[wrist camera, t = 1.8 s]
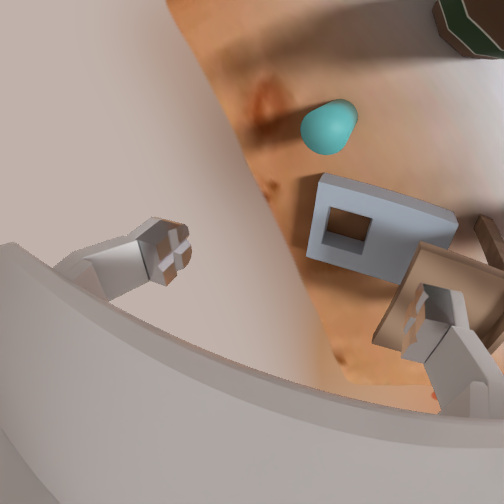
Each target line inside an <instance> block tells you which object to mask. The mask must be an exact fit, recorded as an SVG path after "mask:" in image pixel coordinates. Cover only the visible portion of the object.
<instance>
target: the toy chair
mask: <svg viewBox="0 0 504 504" xmlns="http://www.w3.org/2000/svg"><path fill="white" fill-rule="evenodd" d="M474 230H475V232H476V234H477V237H478V239H479V241H480V244H481V246H482V249H483V251H484V254H485V256H486V259H487V262H488V265H487V264H484V263H482V262H479V261H476V260H474V259H471V258H468V257H466V256H463V255H460V254H457V253H455V252H452V251H449V250H446V249H443V248H441V247H438V246H435V245H432V244H429V243H426V242H423V241H419V244H418V246H417V249H416V251H415V253H414V256H413V258H412V260H411V262H410V265H409V267H408V269H407V271H406V273H405V275H404V277H403V279H402V282H401V284H400V286H399V288H398V290H397V292H396V294H395V296H394V298H393V299H392V301H391V303H390V305H389V307H388V309H387V311H386V313H385V315H384V316H383V318H382V320H381V322H380V324H379V325H378V327H377V329H376V331H375V332H374V334H373V338H372V344H375V345H379V346H382V347H386V348H389V349H393V350H397V351H400V352H402V341H403V339H404V338H405V336H406V335H405V333H404V331H403V324H404V318H405V315H406V312H407V309H408V307H409V304H410V302H412V301H414V300H415V292H416V289H417V287H418V285H419V284H420V283H421V282H422V283H426V284H430V285H434V286H438V287H441V288H445V289H452V290H456V291H461V292H462V293H463V296H464V301H465V306H466V311H467V316H468V322H469V328H470V330H473V331H474V332H475V333H476V335H477V336H478V338H479V339H480V340H481V342H482V343H483V345H484V346H485V348H486V349H487V350H488V352H489V353H490V355H491V354H492V353H493V352H494V351H495V350H496V349H497V348H498V347H499V346H500V345H501V344H502V342H503V341H504V240H503V238H502V236H501V234H500V232H499V230H498V229H497V227H496V225H495V223H494V221H493V220H492V219H490V218H488V217H486V216H483V215H481V214H480V215H479V218H478V220H477V222H476V225H475V227H474Z"/></svg>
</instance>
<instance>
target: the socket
mask: <svg viewBox="0 0 504 504" xmlns="http://www.w3.org/2000/svg"><path fill="white" fill-rule="evenodd" d="M331 207H333V208H337V209H341V210H344V211H348V212H352V213H355V214H359V215H362V216H366V217H369V218H371V220H370V224H369V227H368V231H367V234H366V237H365V241H360V240H357V239H354V238H350V237H347V236H343V235H340V234H336V233H333V232H329V231H326V230H327V225H328V220H329V215H330V210H331ZM458 225H459V224H458V222H457V219H456V217H455V214H454V212H452V211H450V210H447V209H444V208H441V207H439V206H436V205H433V204H430V203H427V202H425V201H422V200H419V199H416V198H413V197H410V196H407V195H403V194H400V193H397V192H394V191H391V190H387V189H384V188H381V187H377V186H374V185H370V184H367V183H363V182H359V181H356V180H352V179H348V178H344V177H340V176H336V175H332V174H328V173H324V174H323V175H322V177H321V179H320V180H319V182H318V189H317V195H316V202H315V208H314V214H313V220H312V225H311V231H310V237H309V242H308V248H307V253H306V257H309V258H312V259H316V260H319V261H322V262H326V263H329V264H332V265H336V266H339V267H342V268H346V269H349V270H352V271H356V272H359V273H362V274H366V275H369V276H372V277H376V278H379V279H382V280H385V281H389V282H392V283H395V284H398V285H400V284H401V282H402V279H403V277H404V275H405V273H406V271H407V269H408V267H409V265H410V262H411V260H412V258H413V256H414V253H415V251H416V249H417V246H418V244H419V241H423V242H426V243H429V244H432V245H435V246H438V247H441V248H443V249H446V250H448V248H449V246H450V244H451V241H452V239H453V237H454V235H455V232H456V230H457V228H458Z"/></svg>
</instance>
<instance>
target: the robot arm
mask: <svg viewBox="0 0 504 504" xmlns="http://www.w3.org/2000/svg"><path fill="white" fill-rule="evenodd" d="M188 236H189V231H188V227H187V226H186V225H185V224H182V223H178V222H173V221H170V220H166V219H162V218H157V217H151V218H150V219H148V220H147V221H146V222H144V223H143V224H142V225H140V226H139V227H137V228H136V229H135V230H133V231H132V232H131V233H129V234H128V235H127V236H121V237H117V238H114V239H111V240H108V241H105V242H101V243H98V244H95V245H92V246H89V247H86V248H83V249H80V250H77V251H74V252H72V253H71V254H69V255H68V256H67V257H65V258H64V259H63V260H62V261H60V262H59V263H58V264H57V265H56V266H54V267H53V268H51V267H50V266H48V265H47V264H45V263H44V262H42V261H41V260H39V259H38V258H36V257H35V256H34V255H32V254H31V253H29V252H28V251H26V250H25V249H24V248H22V247H21V246H20V245H19V244H17V243H14V242H11V243H7V244H3V245H0V504H504V375H503V373H502V372H501V370H500V369H499V367H498V366H497V364H496V362H495V361H494V359H493V358H492V356H491V355H490V353H489V352H488V350H487V349H486V348H485V346H484V345H483V343H482V342H481V340H480V339H479V338H478V336H477V335H476V333H475V332H474V331H473V330H470V328H469V322H468V316H467V311H466V306H465V301H464V296H463V293H462V292H461V291H456V290H452V289H445V288H441V287H438V286H434V285H430V284H426V283H422V282H421V283H420V284H419V285H418V287H417V289H416V292H415V300H414V301H412V302H410V304H409V307H408V309H407V312H406V315H405V318H404V324H403V331H404V333H405V335H406V336H405V338H404V339H403V341H402V352H401V358H402V359H406V360H411V361H415V362H419V363H423V364H424V367H425V369H426V372H427V374H428V377H429V379H430V381H431V384H432V386H433V389H434V391H435V394H436V397H437V399H438V402H439V405H440V407H441V411H440V412H439V413H438V414H430V413H423V412H417V411H411V410H405V409H399V408H394V407H389V406H384V405H379V404H375V403H370V402H365V401H361V400H357V399H352V398H349V397H345V396H340V395H337V394H333V393H329V392H325V391H322V390H318V389H315V388H311V387H308V386H305V385H301V384H298V383H295V382H292V381H289V380H286V379H282V378H279V377H276V376H273V375H270V374H268V373H265V372H262V371H259V370H256V369H253V368H250V367H248V366H245V365H242V364H240V363H237V362H234V361H232V360H230V359H227V358H224V357H222V356H220V355H217V354H214V353H212V352H210V351H207V350H205V349H202V348H200V347H198V346H196V345H193V344H191V343H189V342H187V341H184V340H182V339H180V338H178V337H175V336H174V335H171V334H169V333H167V332H165V331H163V330H161V329H159V328H157V327H155V326H153V325H151V324H149V323H147V322H145V321H143V320H141V319H139V318H137V317H135V316H133V315H131V314H129V313H127V312H125V311H123V310H122V309H120V308H118V307H116V306H114V305H112V304H111V303H109V301H111V300H113V299H115V298H116V297H119V296H121V295H123V294H125V293H127V292H129V291H131V290H133V289H135V288H136V287H139V286H141V285H143V284H145V283H147V282H149V280H150V281H152V282H155V283H158V284H161V285H164V286H167V285H168V284H169V283H170V282H171V281H172V280H173V279H174V278H175V277H176V276H177V271H178V270H181V269H184V268H185V267H186V265H187V264H188V263H189V261H190V258H191V254H192V249H191V244H190V243H189V242H188V240H187V238H188Z"/></svg>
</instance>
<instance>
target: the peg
mask: <svg viewBox="0 0 504 504" xmlns="http://www.w3.org/2000/svg"><path fill="white" fill-rule="evenodd" d="M357 120H358V113H357V110H356V108H355V107H354V105H353V104H352V103H350V102H349V101H347V100H344V99H336V100H333V101H331V102H329V103H327V104H325V105H323V106H321V107H319V108H317V109H315V110H313V111H311V112H309V113H308V114H307V115H306V116H305V117H304V119H303V121H302V123H301V130H300V131H301V136H302V139H303V141H304V143H305V144H306V145H307V147H308V148H310V149H311V150H312V151H314V152H316V153H318V154H322V155H331V154H334V153H337V152H339V151H340V150H341V149H342V148H343V147H344V146H345V144H346V142H347V140H348V138H349V136H350V134H351V132H352V131H353V129H354V127H355V125H356V123H357Z"/></svg>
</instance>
